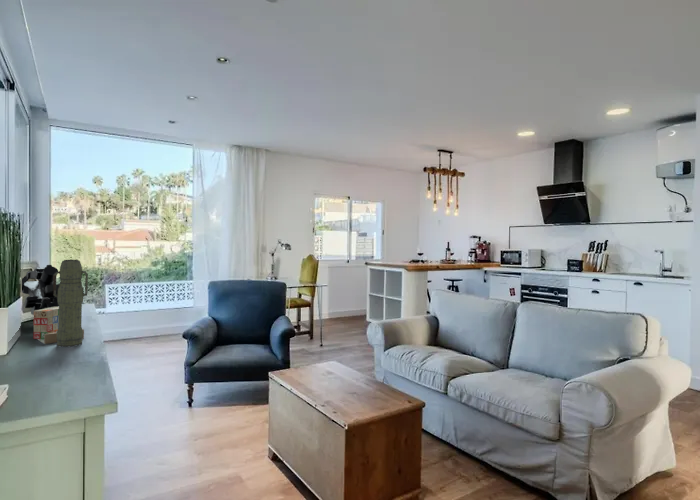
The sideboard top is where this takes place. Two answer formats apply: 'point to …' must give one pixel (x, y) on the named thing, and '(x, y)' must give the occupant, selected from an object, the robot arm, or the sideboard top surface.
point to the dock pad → (52, 338)
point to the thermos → (70, 303)
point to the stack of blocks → (45, 322)
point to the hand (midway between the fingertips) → (53, 314)
